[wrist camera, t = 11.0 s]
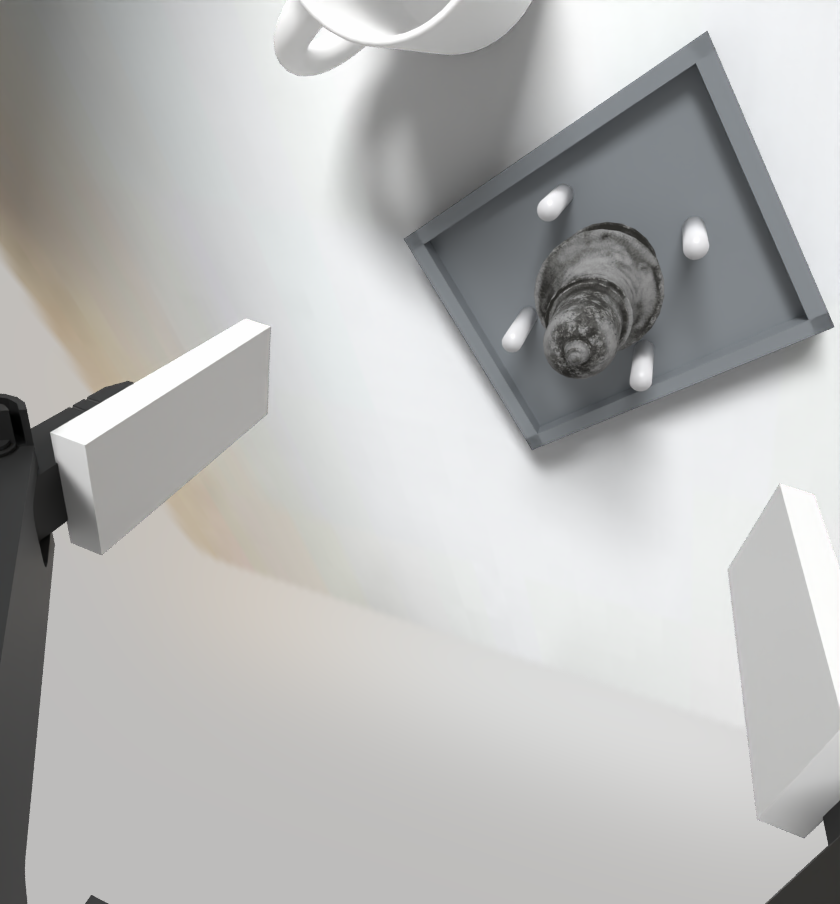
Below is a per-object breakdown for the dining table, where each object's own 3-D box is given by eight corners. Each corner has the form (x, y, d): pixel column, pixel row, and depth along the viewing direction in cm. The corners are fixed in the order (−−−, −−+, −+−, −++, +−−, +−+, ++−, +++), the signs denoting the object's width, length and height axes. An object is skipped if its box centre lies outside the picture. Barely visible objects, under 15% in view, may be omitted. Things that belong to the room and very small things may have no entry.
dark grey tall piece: (691, 254, 31) (699, 336, 21) (619, 351, 34) (597, 461, 24) (586, 192, 31) (546, 245, 21) (525, 295, 34) (466, 381, 25)
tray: (417, 231, 36) (379, 253, 31) (705, 33, 27) (711, 24, 23) (538, 433, 39) (520, 479, 35) (825, 312, 31) (851, 353, 27)
